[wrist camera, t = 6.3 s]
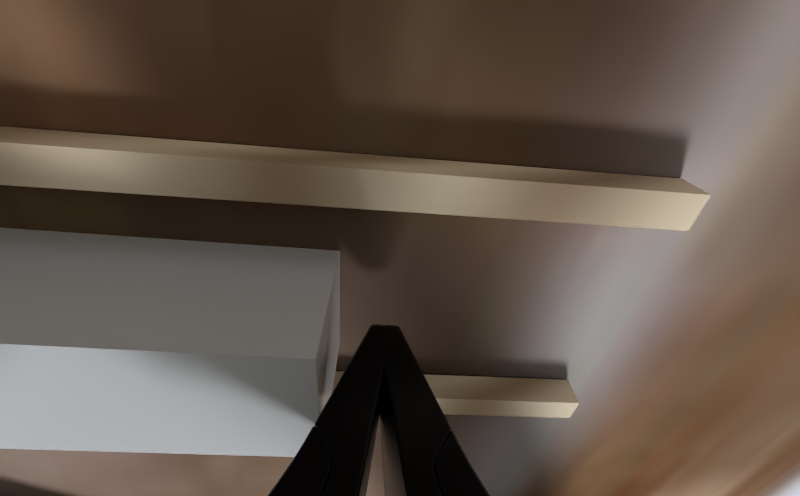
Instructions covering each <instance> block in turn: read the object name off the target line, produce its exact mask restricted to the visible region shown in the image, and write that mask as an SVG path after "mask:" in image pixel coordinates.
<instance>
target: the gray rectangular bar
mask: <svg viewBox="0 0 800 496" xmlns="http://www.w3.org/2000/svg"><path fill="white" fill-rule="evenodd" d="M339 346H340V251H336V250H321V249H306V248H292V247H277V246H263V245H248V244H233V243H219V242H204V241H189V240H175V239H160V238H145V237H131V236H116V235H101V234H87V233H72V232H57V231H43V230H28V229H13V228H0V448H2V449H36V450H71V451H105V452H140V453H174V454H208V455H243V456H277V457H295V456H296V454H297V452H298V451H299V449H300V447H301V446H302V444H303V443H304V441H305V439H306V437H307V436H308V434H309V432H310V430H311V429H312V427H313V426H315V425H314V424H315V422H316V420H317V419H318V417H319V415H320V413H321V412H322V410H323V408H324V406H325V405H326V403H327V401H328V399H329V398H330V396H331V394H332V389H333V383H334V377H335V371H336V364H337V358H338V352H339Z"/></svg>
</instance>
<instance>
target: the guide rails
mask: <svg viewBox="0 0 800 496" xmlns="http://www.w3.org/2000/svg"><path fill="white" fill-rule="evenodd" d="M0 185H10V186H25V187H40V188H55V189H70V190H84V191H99V192H114V193H129V194H144V195H159V196H174V197H189V198H204V199H219V200H234V201H249V202H263V203H278V204H293V205H308V206H323V207H338V208H353V209H368V210H383V211H398V212H413V213H427V214H442V215H457V216H472V217H487V218H502V219H517V220H532V221H547V222H562V223H577V224H592V225H606V226H621V227H636V228H651V229H666V230H681V231H689V229H690V228H691V226H692V225H693V223H694V221H695V220H696V218H697V217H698V215H699V213H700V212H701V210H702V209H703V207H704V206H705V204H706V202H707V201H708V199H709V198H710V196H711V195H710V194H709V193H707V192H705V191H703V190H701V189H700V188H698V187H696V186H694V185H692V184H691V183H689V182H687V181H685V180H684V179H680V178H667V177H654V176H641V175H628V174H615V173H602V172H589V171H576V170H563V169H550V168H537V167H524V166H511V165H498V164H485V163H472V162H459V161H446V160H433V159H420V158H407V157H394V156H381V155H368V154H355V153H342V152H329V151H316V150H303V149H290V148H277V147H264V146H251V145H238V144H225V143H212V142H199V141H186V140H173V139H160V138H147V137H134V136H121V135H108V134H95V133H82V132H69V131H56V130H43V129H30V128H17V127H4V126H0ZM343 373H344V371H335V377H334V383H333V389H332V392H333V391H334V389H335V387H336V385H337V384H338V382H339V380H340V378H341V377H342V375H343ZM424 376H425V378H426V380H427V382H428V384H429V386H430V388H431V390H432V392H433V394H434V396H435V398H436V400H437V402H438V404H439V405H440V407H441V409H442V411H443V413H444V414H451V415H484V416H517V417H549V418H570V417H571V415H572V414H573V412H574V410H575V409H576V407H577V406H578V404H579V402H578V400H577V398H576V396H575V394H574V391H573V389H572V387H571V385H570V383H569V381H568V380H560V379H533V378H507V377H480V376H454V375H427V374H424Z"/></svg>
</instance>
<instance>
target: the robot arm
mask: <svg viewBox="0 0 800 496" xmlns="http://www.w3.org/2000/svg"><path fill="white" fill-rule="evenodd" d="M379 414H380V428H381V442H382V457H383V471H384V486H385V496H490V495H489V493H488V491H487V490H486V488H485V487H484V485H483V484H482V482H481V480H480V479H479V477H478V476H477V474H476V472H475V471H474V469H473V468H472V466H471V464H470V462H469V461H468V459H467V457H466V455H465V453H464V451H463V450H462V448H461V446H460V444H459V442H458V440H457V438H456V436H455V434H454V432H453V431H451V427H450V425H449V423H448V421H447V419H446V417H445V415H444V413H443V411H442V409H441V407H440V405H439V404H438V402H437V400H436V398H435V396H434V394H433V392H432V390H431V388H430V386H429V384H428V382H427V380H426V378H425V376H424V374H423V372H422V370H421V368H420V367H419V365H418V363H417V361H416V359H415V357H414V355H413V353H412V351H411V349H410V347H409V345H408V343H407V341H406V339H405V337H404V335H403V333H402V331H401V330H400V328H399V327H398V326H395V325H377V324H373V325H371V326H370V328H369V330H368V331H367V333H366V335H365V337H364V338H363V340H362V342H361V344H360V345H359V347H358V349H357V351H356V352H355V354H354V356H353V357H352V359H351V361H350V363H349V364H348V366H347V368H346V370H345V371H344V373H343V375H342V377H341V378H340V380H339V382H338V384H337V385H336V387H335V389H334V391H333V392H332V394H331V396H330V398H329V399H328V401H327V403H326V405H325V406H324V408H323V410H322V412H321V413H320V415H319V417H318V419H317V420H316V422H315V424H314V425H315V426H313V427H312V429H311V430H310V432H309V434H308V436H307V437H306V439H305V441H304V443H303V444H302V446H301V447H300V449H299V451H298V452H297V454H296V456H295V457H294V459H293V460H292V462H291V463H290V465H289V466H288V468H287V469H286V471H285V472H284V473H283V475H282V476H281V478H280V479H279V481H278V482H277V484H276V485H275V486H274V488H273V489H272V490H271V492H270V493H269V494H268V496H366V492H367V486H368V480H369V474H370V468H371V462H372V456H373V450H374V444H375V438H376V432H377V426H378V420H379Z"/></svg>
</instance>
